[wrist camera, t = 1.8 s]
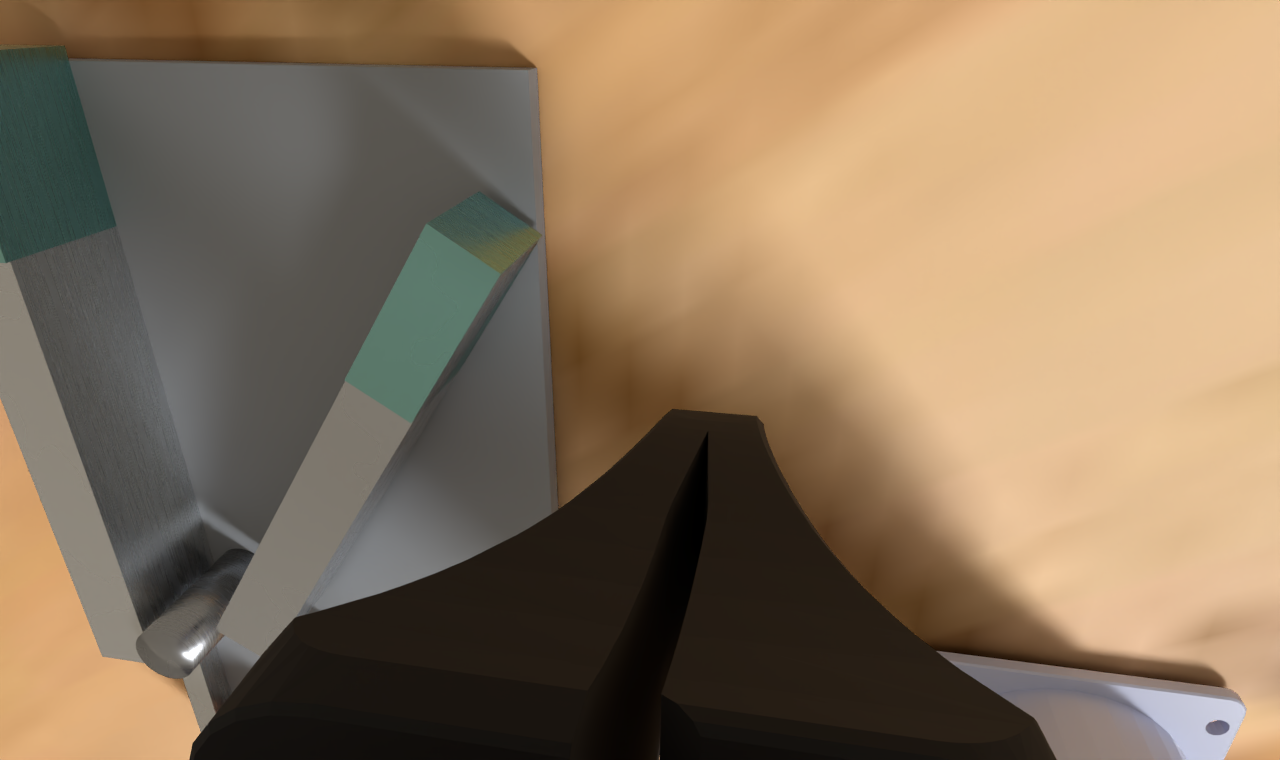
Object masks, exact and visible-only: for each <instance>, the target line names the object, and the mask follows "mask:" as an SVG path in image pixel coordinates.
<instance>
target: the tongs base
mask: <svg viewBox="0 0 1280 760" xmlns="http://www.w3.org/2000/svg"><path fill="white" fill-rule="evenodd" d="M0 398H1V401H2V403H3V406H4V408H5V411H6V413H7V416H8V419H9V421H10V424H11V426H12V429H13V431H14V434H15V436H16V439H17V441H18V444H19V446H20V449H21V451H22V454H23V457H24V459H25V462H26V464H27V467H28V469H29V472H30V474H31V477H32V479H33V482H34V484H35V487H36V489H37V492H38V495H39V497H40V500H41V502H42V505H43V507H44V510H45V512H46V515H47V517H48V520H49V522H50V525H51V528H52V530H53V533H54V535H55V538H56V540H57V543H58V545H59V548H60V550H61V553H62V555H63V558H64V560H65V563H66V566H67V568H68V571H69V573H70V576H71V578H72V581H73V583H74V586H75V588H76V591H77V593H78V596H79V598H80V601H81V604H82V606H83V609H84V611H85V614H86V616H87V619H88V621H89V624H90V626H91V629H92V631H93V634H94V636H95V639H96V642H97V644H98V647H99V649H100V652H101V654H102V656H103V657H109V658H116V659H122V660H129V661H135V662H142V663H145V664H146V665H147V666H148V667H149V668H151V669H152V670H153V671H155V672H157V673H158V674H160V675H163V676H165V677H169V678H174V679H180V678H183V681H184V684H185V687H186V689H187V692H188V695H189V698H190V701H191V704H192V707H193V710H194V713H195V716H196V719H197V722H198V725H199V728H200V731H201V732H202V731H203V729H204V728H205V727H206V725H207V724H208V723H209V722H210V720H211V719H212V718H213V716H214V715H215V714H216V713H217V711H218V710H219V709H220V708H221V706H222V705H223V704H224V702H225V701H226V700H227V699H228V697H229V696H230V695H231V694H232V693H231V690H230V687H229V684H228V680H227V677H226V674H225V671H224V667H223V664H222V661H221V658H220V654H219V651H218V648H217V644H218V642H219V641H220V640H221V639H222V638H223V637H224V636H225V635H223V634H222V633H220V632H218V631H217V630H215V629H216V627H217V625H218V623H219V621H220V619H221V617H222V615H223V613H224V611H225V609H226V608H227V606H228V604H229V602H230V600H231V598H232V596H233V594H234V592H235V590H236V588H237V587H238V585H239V583H240V581H241V579H242V577H243V575H244V573H245V571H246V569H247V568H248V566H249V564H250V562H251V560H252V558H253V556H254V553H252V552H250V551H247V550H244V549H230V550H228V551H226V552H225V553H224V554H223V555H222V556H221V557H220V558H219V559H218V560H217V561H216V562H214V559H213V555H212V552H211V549H210V545H209V542H208V538H207V535H206V531H205V528H204V524H203V521H202V518H201V514H200V511H199V507H198V504H197V500H196V497H195V493H194V490H193V487H192V483H191V480H190V476H189V473H188V469H187V466H186V462H185V459H184V455H183V452H182V449H181V445H180V442H179V438H178V435H177V431H176V428H175V424H174V421H173V418H172V414H171V411H170V407H169V404H168V400H167V397H166V393H165V390H164V387H163V383H162V380H161V376H160V373H159V369H158V366H157V362H156V359H155V356H154V352H153V349H152V345H151V342H150V338H149V335H148V331H147V328H146V325H145V321H144V318H143V314H142V311H141V307H140V304H139V300H138V297H137V294H136V290H135V287H134V283H133V280H132V276H131V273H130V269H129V266H128V263H127V259H126V256H125V252H124V249H123V245H122V242H121V238H120V235H119V232H118V228H117V225H116V221H115V218H114V214H113V211H112V207H111V204H110V201H109V197H108V194H107V190H106V187H105V183H104V180H103V176H102V173H101V170H100V166H99V163H98V159H97V156H96V152H95V149H94V145H93V142H92V138H91V135H90V132H89V128H88V125H87V121H86V118H85V114H84V111H83V107H82V104H81V101H80V97H79V94H78V90H77V87H76V83H75V80H74V76H73V73H72V70H71V66H70V63H69V59H68V56H67V52H66V49H65V46H53V45H0Z"/></svg>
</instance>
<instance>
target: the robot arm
mask: <svg viewBox="0 0 1280 760" xmlns="http://www.w3.org/2000/svg"><path fill="white" fill-rule="evenodd" d="M1245 715H1246V707H1245V705H1244V703H1243V702H1242V700H1241V698H1240V697H1239V695H1238V694H1237V693H1236V692H1234V691H1233V690H1230V689H1227V688H1222V687H1214V686H1206V685H1199V684H1191V683H1183V682H1175V681H1168V680H1160V679H1152V678H1144V677H1136V676H1129V675H1121V674H1113V673H1105V672H1098V671H1090V670H1082V669H1074V668H1066V667H1059V666H1051V665H1043V664H1035V663H1028V662H1020V661H1012V660H1004V659H996V658H989V657H981V656H973V655H965V654H958V653H950V652H942V651H935V650H934V649H933V648H932V647H930V646H929V645H928V644H926V643H925V642H924V641H923V640H921V639H920V638H919V637H917V636H916V635H915V634H914V633H912V632H911V631H910V630H909V629H908V628H907V627H905V626H904V625H903V624H902V623H901V622H900V621H898V620H897V619H896V618H895V617H894V616H893V615H892V614H891V613H890V612H889V611H888V610H887V609H885V608H884V607H883V606H882V605H881V604H880V603H879V602H878V601H877V600H876V599H875V598H874V597H873V596H872V595H871V594H870V593H868V592H867V591H866V590H865V589H864V588H863V587H862V586H861V584H860V583H859V582H858V581H857V580H856V579H855V578H854V577H853V576H852V575H851V574H850V573H849V571H848V570H847V569H846V568H845V567H844V565H843V564H842V563H841V562H840V561H839V559H838V558H837V557H836V556H835V555H834V553H833V552H832V551H831V550H830V548H829V547H828V546H827V544H826V543H825V542H824V540H823V539H822V538H821V536H820V535H819V533H818V532H817V531H816V529H815V528H814V526H813V525H812V523H811V522H810V520H809V519H808V517H807V516H806V514H805V513H804V511H803V510H802V508H801V506H800V505H799V503H798V502H797V500H796V498H795V497H794V495H793V493H792V491H791V489H790V488H789V486H788V484H787V482H786V480H785V478H784V477H783V475H782V473H781V471H780V469H779V467H778V465H777V463H776V460H775V458H774V456H773V453H772V451H771V449H770V446H769V444H768V441H767V438H766V435H765V431H764V424H763V423H762V422H761V421H760V420H759V419H758V417H757V416H748V415H736V414H725V413H713V412H701V411H690V410H678V409H672V410H671V411H670V412H668V413H667V414H666V415H665V416H664V417H663V418H662V419H661V420H660V421H659V422H658V423H657V424H656V425H655V426H654V427H653V428H652V429H651V430H650V431H649V432H648V433H647V434H646V435H645V436H644V437H643V438H642V439H641V440H640V441H639V442H638V443H637V444H636V445H635V446H634V447H633V448H632V449H631V450H630V451H629V452H628V453H627V454H626V455H625V456H624V457H623V458H621V459H620V460H619V461H618V462H617V463H616V464H615V465H614V466H613V467H612V468H611V469H609V470H608V471H607V472H606V473H605V474H604V475H602V476H601V477H600V478H599V479H598V480H596V481H595V482H594V483H593V484H591V485H590V486H589V487H588V488H586V489H585V490H584V491H582V492H581V493H580V494H579V495H577V496H576V497H575V498H574V499H572V500H571V501H570V502H568V503H567V504H566V505H564V506H563V507H561V508H560V509H558V510H557V511H555V512H554V513H552V514H551V515H549V516H547V517H546V518H544V519H543V520H541V521H539V522H538V523H536V524H535V525H533V526H531V527H530V528H528V529H526V530H524V531H523V532H521V533H519V534H517V535H515V536H513V537H511V538H509V539H507V540H505V541H503V542H501V543H499V544H497V545H495V546H493V547H491V548H489V549H487V550H485V551H483V552H482V553H480V554H478V555H476V556H474V557H472V558H470V559H468V560H465V561H463V562H461V563H459V564H456V565H454V566H451V567H449V568H447V569H444V570H442V571H439V572H437V573H434V574H432V575H429V576H427V577H424V578H421V579H419V580H416V581H413V582H411V583H408V584H405V585H403V586H400V587H397V588H394V589H391V590H388V591H385V592H382V593H379V594H376V595H372V596H369V597H366V598H362V599H359V600H355V601H352V602H348V603H345V604H341V605H338V606H335V607H331V608H328V609H324V610H321V611H317V612H314V613H310V614H306V615H302V616H298V617H295V618H294V619H293V620H292V621H291V622H290V623H289V624H288V626H287V627H286V628H285V629H284V630H283V631H282V632H281V633H280V635H279V636H278V637H277V638H276V639H275V640H274V641H273V642H272V644H271V645H270V646H269V647H268V648H267V649H266V650H265V651H264V653H263V654H262V655H261V657H260V658H259V659H258V660H257V662H256V663H255V664H254V665H253V667H252V668H251V669H250V671H249V672H248V673H247V674H246V676H245V677H244V678H243V680H242V681H241V682H240V683H239V685H238V686H237V687H236V688H235V690H234V691H233V692H232V694H231V695H230V696H229V697H228V699H227V700H226V701H225V702H224V704H223V705H222V706H221V708H220V709H219V710H218V711H217V713H216V714H215V715H214V716H213V718H212V719H211V720H210V722H209V723H208V724H207V725H206V727H205V728H204V729H203V731H202V732H201V733H200V735H199V736H198V737H197V739H196V740H195V741H194V742H193V745H192V750H191V755H190V760H659V755H660V760H1224V758H1225V756H1226V754H1227V752H1228V750H1229V748H1230V746H1231V744H1232V742H1233V740H1234V738H1235V736H1236V733H1237V731H1238V729H1239V727H1240V725H1241V723H1242V721H1243V719H1244V717H1245ZM1214 720H1217V721H1214ZM1212 721H1214V722H1212Z"/></svg>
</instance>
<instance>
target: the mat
mask: <svg viewBox="0 0 1280 760" xmlns="http://www.w3.org/2000/svg"><path fill="white" fill-rule="evenodd" d="M68 59H69V63H70V66H71V70H72V73H73V76H74V80H75V83H76V87H77V90H78V94H79V97H80V101H81V104H82V107H83V111H84V114H85V118H86V121H87V125H88V128H89V132H90V135H91V138H92V142H93V145H94V149H95V152H96V156H97V159H98V163H99V166H100V170H101V173H102V176H103V180H104V183H105V187H106V190H107V194H108V197H109V201H110V204H111V207H112V211H113V214H114V218H115V221H116V225H117V228H118V232H119V235H120V238H121V242H122V245H123V249H124V252H125V256H126V259H127V263H128V266H129V269H130V273H131V276H132V280H133V283H134V287H135V290H136V294H137V297H138V300H139V304H140V307H141V311H142V314H143V318H144V321H145V325H146V328H147V331H148V335H149V338H150V342H151V345H152V349H153V352H154V356H155V359H156V362H157V366H158V369H159V373H160V376H161V380H162V383H163V387H164V390H165V393H166V397H167V400H168V404H169V407H170V411H171V414H172V418H173V421H174V424H175V428H176V431H177V435H178V438H179V442H180V445H181V449H182V452H183V455H184V459H185V462H186V466H187V469H188V473H189V476H190V480H191V483H192V487H193V490H194V493H195V497H196V500H197V504H198V507H199V511H200V514H201V518H202V521H203V524H204V528H205V531H206V535H207V538H208V542H209V545H210V549H211V552H212V555H213V559H214V562H216V561H217V560H218V559H219V558H220V557H221V556H222V555H223V554H224V553H225V552H226V551H228V550H230V549H244V550H247V551H250V552H252V553H254V554H255V552H256V550H257V548H258V547H259V545H260V543H261V541H262V539H263V537H264V535H265V533H266V531H267V529H268V527H269V526H270V524H271V522H272V520H273V518H274V516H275V514H276V512H277V510H278V508H279V506H280V505H281V503H282V501H283V499H284V497H285V495H286V493H287V491H288V489H289V487H290V485H291V484H292V482H293V480H294V478H295V476H296V474H297V472H298V470H299V468H300V466H301V464H302V463H303V461H304V459H305V457H306V455H307V453H308V451H309V449H310V447H311V445H312V443H313V442H314V440H315V438H316V436H317V434H318V432H319V430H320V428H321V426H322V424H323V422H324V421H325V419H326V417H327V415H328V413H329V411H330V409H331V407H332V405H333V403H334V401H335V400H336V398H337V396H338V394H339V392H340V390H341V388H342V386H343V384H344V382H345V378H346V376H347V374H348V372H349V370H350V368H351V366H352V364H353V363H354V361H355V359H356V357H357V355H358V353H359V351H360V349H361V347H362V345H363V343H364V342H365V340H366V338H367V336H368V334H369V332H370V330H371V328H372V326H373V324H374V322H375V320H376V319H377V317H378V315H379V313H380V311H381V309H382V307H383V305H384V303H385V301H386V299H387V298H388V296H389V294H390V292H391V290H392V288H393V286H394V284H395V282H396V280H397V278H398V276H399V275H400V273H401V271H402V269H403V267H404V265H405V263H406V261H407V259H408V257H409V255H410V254H411V252H412V250H413V248H414V246H415V244H416V242H417V240H418V238H419V236H420V234H421V232H422V231H423V229H424V227H425V225H426V223H428V222H429V221H431V220H433V219H434V218H436V217H438V216H439V215H441V214H443V213H444V212H446V211H448V210H449V209H451V208H452V207H454V206H456V205H457V204H459V203H461V202H462V201H464V200H466V199H467V198H469V197H471V196H472V195H474V194H475V193H477V192H479V191H480V192H481V193H483V194H484V195H485V196H487V197H488V198H490V199H491V200H493V201H494V202H496V203H497V204H498V205H500V206H501V207H503V208H504V209H506V210H507V211H509V212H510V213H511V214H513V215H514V216H516V217H517V218H519V219H520V220H522V221H523V222H525V223H526V224H527V225H529V226H530V227H532V228H533V229H535V230H536V231H538V232H539V233H540V234H542V237H541V238H540V240H539V241H538V243H537V245H536V246H535V248H534V250H533V251H532V253H531V254H530V256H529V258H528V259H527V261H526V263H525V264H524V266H523V268H522V269H521V271H520V272H519V274H518V276H517V277H516V279H515V281H514V282H513V284H512V286H511V287H510V289H509V290H508V292H507V294H506V295H505V297H504V299H503V300H502V302H501V304H500V305H499V307H498V308H497V310H496V312H495V313H494V315H493V317H492V318H491V320H490V322H489V323H488V325H487V326H486V328H485V330H484V331H483V333H482V335H481V336H480V338H479V340H478V341H477V343H476V344H475V346H474V348H473V349H472V351H471V353H470V354H469V356H468V358H467V359H466V361H465V362H464V364H463V366H462V367H461V369H460V371H459V372H458V374H457V376H456V377H455V379H454V380H453V382H452V384H451V385H450V387H449V389H448V390H447V392H446V394H445V395H444V397H443V398H442V400H441V402H440V403H439V405H438V407H437V408H436V410H435V412H434V413H433V415H432V416H431V418H430V420H429V421H428V423H427V425H426V426H425V428H424V430H423V431H422V433H421V434H420V436H419V438H418V439H417V441H416V443H415V444H414V446H413V448H412V449H411V451H410V452H409V454H408V456H407V457H406V459H405V461H404V462H403V464H402V465H401V467H400V469H399V470H398V472H397V474H396V475H395V477H394V479H393V480H392V482H391V483H390V485H389V487H388V488H387V490H386V492H385V493H384V495H383V497H382V498H381V500H380V501H379V503H378V505H377V506H376V508H375V510H374V511H373V513H372V515H371V516H370V518H369V519H368V521H367V523H366V524H365V526H364V528H363V529H362V531H361V533H360V534H359V536H358V537H357V539H356V541H355V542H354V544H353V546H352V547H351V549H350V551H349V552H348V554H347V555H346V557H345V559H344V560H343V562H342V564H341V565H340V567H339V569H338V570H337V572H336V573H335V575H334V577H333V578H332V580H331V582H330V583H329V585H328V587H327V588H326V590H325V591H324V593H323V595H322V596H321V597H320V598H319V600H318V601H317V602H316V604H315V605H314V606H313V607H312V609H311V610H310V611H309V612H308V614H310V613H314V612H317V611H321V610H324V609H328V608H331V607H335V606H338V605H341V604H345V603H348V602H352V601H355V600H359V599H362V598H366V597H369V596H372V595H376V594H379V593H382V592H385V591H388V590H391V589H394V588H397V587H400V586H403V585H405V584H408V583H411V582H413V581H416V580H419V579H421V578H424V577H427V576H429V575H432V574H434V573H437V572H439V571H442V570H444V569H447V568H449V567H451V566H454V565H456V564H459V563H461V562H463V561H465V560H468V559H470V558H472V557H474V556H476V555H478V554H480V553H482V552H483V551H485V550H487V549H489V548H491V547H493V546H495V545H497V544H499V543H501V542H503V541H505V540H507V539H509V538H511V537H513V536H515V535H517V534H519V533H521V532H523V531H524V530H526V529H528V528H530V527H531V526H533V525H535V524H536V523H538V522H539V521H541V520H543V519H544V518H546V517H547V516H549V515H551V514H552V513H554V512H555V511H557V510H558V494H557V473H556V452H555V431H554V411H553V390H552V369H551V348H550V327H549V307H548V286H547V265H546V244H545V224H544V203H543V182H542V161H541V141H540V120H539V99H538V78H537V68H520V67H471V66H422V65H373V64H324V63H276V62H227V61H178V60H129V59H81V58H68ZM217 648H218V651H219V654H220V658H221V661H222V664H223V667H224V671H225V674H226V677H227V680H228V684H229V687H230V690H231V693H232V692H233V691H234V690H235V688H236V687H237V686H238V685H239V683H240V682H241V681H242V680H243V678H244V677H245V676H246V674H247V673H248V672H249V671H250V669H251V668H252V667H253V665H254V664H255V663H256V662H257V660H258V659H259V658H260V656H259V655H257V654H255V653H254V652H252V651H250V650H249V649H247V648H245V647H244V646H242V645H240V644H238V643H237V642H235V641H233V640H232V639H230V638H228V637H227V636H224V637H223V638H222V639H221V640H220V641H219V642H218V644H217ZM186 690H187V689H186ZM187 693H188V692H187Z"/></svg>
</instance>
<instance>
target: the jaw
mask: <svg viewBox="0 0 1280 760" xmlns="http://www.w3.org/2000/svg"><path fill="white" fill-rule="evenodd" d="M541 237H542V234H540V233H539V232H538V231H536V230H535V229H533V228H532V227H530V226H529V225H527V224H526V223H525V222H523V221H522V220H520V219H519V218H517V217H516V216H514V215H513V214H511V213H510V212H509V211H507V210H506V209H504V208H503V207H501V206H500V205H498V204H497V203H496V202H494V201H493V200H491V199H490V198H488V197H487V196H485V195H484V194H483V193H481V192H480V191H479V192H477V193H475V194H474V195H472V196H471V197H469V198H467V199H466V200H464V201H462V202H461V203H459V204H457V205H456V206H454V207H452V208H451V209H449V210H448V211H446V212H444V213H443V214H441V215H439V216H438V217H436V218H434V219H433V220H431V221H429V222H428V223H426V225H425V227H424V229H423V231H422V232H421V234H420V236H419V238H418V240H417V242H416V244H415V246H414V248H413V250H412V252H411V254H410V255H409V257H408V259H407V261H406V263H405V265H404V267H403V269H402V271H401V273H400V275H399V276H398V278H397V280H396V282H395V284H394V286H393V288H392V290H391V292H390V294H389V296H388V298H387V299H386V301H385V303H384V305H383V307H382V309H381V311H380V313H379V315H378V317H377V319H376V320H375V322H374V324H373V326H372V328H371V330H370V332H369V334H368V336H367V338H366V340H365V342H364V343H363V345H362V347H361V349H360V351H359V353H358V355H357V357H356V359H355V361H354V363H353V364H352V366H351V368H350V370H349V372H348V374H347V376H346V378H345V382H344V384H343V386H342V388H341V390H340V392H339V394H338V396H337V398H336V400H335V401H334V403H333V405H332V407H331V409H330V411H329V413H328V415H327V417H326V419H325V421H324V422H323V424H322V426H321V428H320V430H319V432H318V434H317V436H316V438H315V440H314V442H313V443H312V445H311V447H310V449H309V451H308V453H307V455H306V457H305V459H304V461H303V463H302V464H301V466H300V468H299V470H298V472H297V474H296V476H295V478H294V480H293V482H292V484H291V485H290V487H289V489H288V491H287V493H286V495H285V497H284V499H283V501H282V503H281V505H280V506H279V508H278V510H277V512H276V514H275V516H274V518H273V520H272V522H271V524H270V526H269V527H268V529H267V531H266V533H265V535H264V537H263V539H262V541H261V543H260V545H259V547H258V548H257V550H256V552H255V554H254V556H253V558H252V560H251V562H250V564H249V566H248V568H247V569H246V571H245V573H244V575H243V577H242V579H241V581H240V583H239V585H238V587H237V588H236V590H235V592H234V594H233V596H232V598H231V600H230V602H229V604H228V606H227V608H226V609H225V611H224V613H223V615H222V617H221V619H220V621H219V623H218V625H217V627H216V629H215V630H217V631H218V632H220V633H222V634H223V635H225V636H227V637H228V638H230V639H232V640H233V641H235V642H237V643H238V644H240V645H242V646H244V647H245V648H247V649H249V650H250V651H252V652H254V653H255V654H257V655H259V656H260V657H261V655H262V654H263V653H264V651H265V650H266V649H267V648H268V647H269V646H270V645H271V644H272V642H273V641H274V640H275V639H276V638H277V637H278V636H279V635H280V633H281V632H282V631H283V630H284V629H285V628H286V627H287V626H288V624H289V623H290V622H291V621H292V620H293V619H294V618H295V617H298V616H302V615H306V614H308V612H309V611H310V610H311V609H312V607H313V606H314V605H315V604H316V602H317V601H318V600H319V598H320V597H321V596H322V595H323V593H324V591H325V590H326V588H327V587H328V585H329V583H330V582H331V580H332V578H333V577H334V575H335V573H336V572H337V570H338V569H339V567H340V565H341V564H342V562H343V560H344V559H345V557H346V555H347V554H348V552H349V551H350V549H351V547H352V546H353V544H354V542H355V541H356V539H357V537H358V536H359V534H360V533H361V531H362V529H363V528H364V526H365V524H366V523H367V521H368V519H369V518H370V516H371V515H372V513H373V511H374V510H375V508H376V506H377V505H378V503H379V501H380V500H381V498H382V497H383V495H384V493H385V492H386V490H387V488H388V487H389V485H390V483H391V482H392V480H393V479H394V477H395V475H396V474H397V472H398V470H399V469H400V467H401V465H402V464H403V462H404V461H405V459H406V457H407V456H408V454H409V452H410V451H411V449H412V448H413V446H414V444H415V443H416V441H417V439H418V438H419V436H420V434H421V433H422V431H423V430H424V428H425V426H426V425H427V423H428V421H429V420H430V418H431V416H432V415H433V413H434V412H435V410H436V408H437V407H438V405H439V403H440V402H441V400H442V398H443V397H444V395H445V394H446V392H447V390H448V389H449V387H450V385H451V384H452V382H453V380H454V379H455V377H456V376H457V374H458V372H459V371H460V369H461V367H462V366H463V364H464V362H465V361H466V359H467V358H468V356H469V354H470V353H471V351H472V349H473V348H474V346H475V344H476V343H477V341H478V340H479V338H480V336H481V335H482V333H483V331H484V330H485V328H486V326H487V325H488V323H489V322H490V320H491V318H492V317H493V315H494V313H495V312H496V310H497V308H498V307H499V305H500V304H501V302H502V300H503V299H504V297H505V295H506V294H507V292H508V290H509V289H510V287H511V286H512V284H513V282H514V281H515V279H516V277H517V276H518V274H519V272H520V271H521V269H522V268H523V266H524V264H525V263H526V261H527V259H528V258H529V256H530V254H531V253H532V251H533V250H534V248H535V246H536V245H537V243H538V241H539V240H540V238H541Z"/></svg>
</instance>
